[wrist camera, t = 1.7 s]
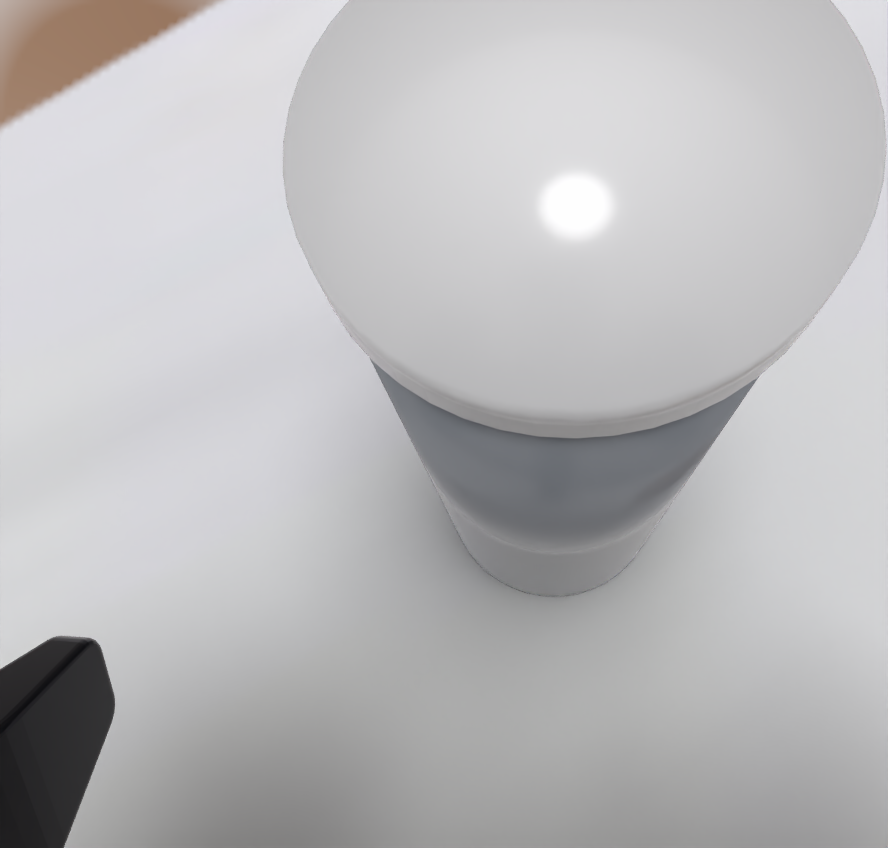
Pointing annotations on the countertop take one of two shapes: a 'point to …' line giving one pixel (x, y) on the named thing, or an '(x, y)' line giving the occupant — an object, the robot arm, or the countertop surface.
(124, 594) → the countertop surface
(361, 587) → the countertop surface
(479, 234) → the canister
